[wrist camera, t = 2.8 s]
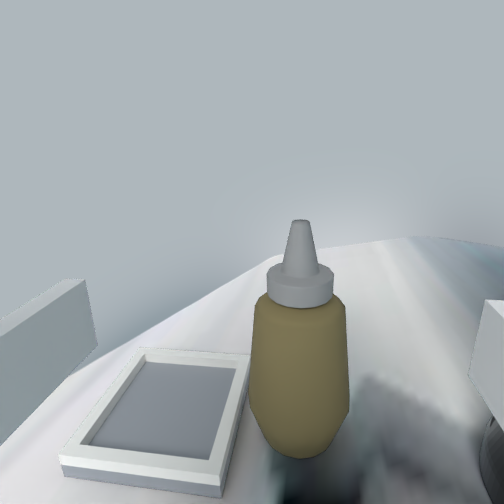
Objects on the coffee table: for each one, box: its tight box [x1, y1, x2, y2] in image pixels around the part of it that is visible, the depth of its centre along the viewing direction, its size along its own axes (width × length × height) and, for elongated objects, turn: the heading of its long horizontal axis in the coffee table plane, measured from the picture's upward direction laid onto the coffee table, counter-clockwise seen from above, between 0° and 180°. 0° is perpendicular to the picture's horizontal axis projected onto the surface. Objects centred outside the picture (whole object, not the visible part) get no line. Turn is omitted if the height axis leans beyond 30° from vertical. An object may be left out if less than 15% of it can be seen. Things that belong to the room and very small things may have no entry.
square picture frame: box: [58, 347, 251, 498], centre depth 31 cm, size 12×13×2 cm
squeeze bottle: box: [248, 220, 349, 459], centre depth 26 cm, size 8×8×18 cm
